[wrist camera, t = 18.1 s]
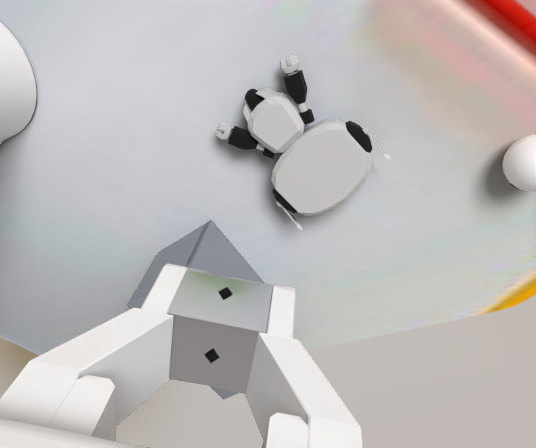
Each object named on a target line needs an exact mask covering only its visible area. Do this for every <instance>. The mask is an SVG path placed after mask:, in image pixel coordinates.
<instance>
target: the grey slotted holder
mask: <svg viewBox="0 0 536 448" xmlns="http://www.w3.org/2000/svg"><path fill="white" fill-rule="evenodd" d="M167 263H169V264H174V265H178V266H183V267H187V268H193V269H198V270H202V271H207V272H211V273H216V274H221V275H225V276H230V277H233V278H238V279H243V280H249V281H254V282H259V283H264V282H263V281H262V280H261V278H260V277H259V276H258V275H257V274H256V272H255V271H254V270H253V269H252V268H251V267H250V265H249V264H248V263H247V262H246V261H245V259H244V258H243V257H242V256H241V255H240V253H239V252H238V251H237V250H236V249H235V247H234V246H233V245H232V244H231V243H230V241H229V240H228V239H227V238H226V237H225V235H224V234H223V233H222V232H221V231H220V230H219V228H218V227H217V226H216V225H215V224H214V222H213V221H212V220H211V221H209V222H208V223H206V224H204V225H203V226H201V227H199V228H198V229H196V230H194V231H193V232H191V233H190V234H188V235H186V236H185V237H183V238H181V239H180V240H178V241H176V242H175V243H173V244H172V245H170V246H168V247H167V248H165V249H163V250H162V251H160V252H158V254H157V256H156V257H155V259H154V261H153V262H152V264H151V266H150V268H149V269H148V271H147V273H146V274H145V276H144V278H143V279H142V281H141V283H140V285H139V286H138V288H137V290H136V291H135V293H134V295H133V296H132V298H131V300H130V301H129V303H128V305H127V306H128V307H129V308H130V309H132V308H139V309H141V307H142V305H143V303H144V301H145V299H146V298H147V296H148V294H149V292H150V290H151V288H152V287H153V285H154V283H155V281H156V279H157V277H158V276H159V274H160V272H161V270H162V268H163V266H165V265H166V264H167ZM264 284H265V283H264ZM210 387H211V388H212V389H213V390H214V391H215V392H216V393H217V394H218V395H219V396H221V397H222V399H225V398H228V397H230V396H233V395H235V394H237V393H239V392H235V391H231V390H226V389H222V388H217V387H213V386H210Z"/></svg>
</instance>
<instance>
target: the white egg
mask: <svg viewBox="0 0 536 448" xmlns="http://www.w3.org/2000/svg"><path fill="white" fill-rule="evenodd" d="M502 165H503V172H504V174H505V176H506V178H507V179H508V181H509V182H510V183H511V185H512V186H514V187H516V188H518V189H521V190H525V191H536V134H533V135H529V136H526V137H523V138H521V139H519V140H518V141H516V142H514V143H513V144H512V145H511V146H510V147H509V149H508V150H507V152H506V154H505V156H504V159H503V164H502Z"/></svg>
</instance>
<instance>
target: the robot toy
mask: <svg viewBox="0 0 536 448" xmlns="http://www.w3.org/2000/svg"><path fill="white" fill-rule="evenodd" d="M288 57H289V58H290V61H291V64H292V65H289V66H288V65H287V61H286V57H284V58H282V59H281V61H280V68H281V70H282V71H283V72H284V73H285V74H286V76H285V77H283V78H284V81H285V84H286V88H287V91H288V94H289V95H290V96H291V97H290V96H289V95H287V94H285V93H283V92H276V91H274V90H272V89H270V88H268V87H266V88H263V89H260V90H259V91H257V90H255V89H250V90H249V91H248V92H247V93H246V95H245V99H246V101H247V103H246V104H245V107H244V110H243V114H244V116H245V118H246V120H247V122H248V130H249V131H247V130H244V129H242V128H239V127H237V126H235V127H234V128H233V129H232V128H231V126H230V125H229V124H228V123H222V122H221V123H220V124H218V127H217V128H220V129H222V130H224V132H222V131H219V130H218V129H217V130H216V135H217V137H219V138H220V139H222V140H229V142H228V143H229V144H231V145H234V146H236V147H239V148H241V149H255V148H256V149H259V150H261V151H263V155H264V156H267V157H269V158H272V159H273V157H274V155H275V153H281V155H280V157H279V158H278V160H277V162H276V165H275V167H274V169H273V172H272V178H271V181H272V183H273V186H274V189H273V193H274V196H275V198H276V200H277V201H278V202H277V204H278V205H279V207H282V208H283V210H284V211H285V212H286V213H287V214H288V216H289V217H290V218H291V219H292V221H293V222H294V223H295V224H296V226H297V227H298V229H300V230H302V227H301V225H300V224H298V223H297V221H296V220H295V219H294V218H293V217H292V215H291V214H290V213H289V212H288V210H289V211H291V212H293V213H296V212H299V213H301V214H303V215H306V216H313V215H319V214H322V213H324V212H327V211H329V210H331V209H333V208H335V207H336V206H338V205H340V204H342V203H344V202H345V201H347V200H348V199H349V198H350V197H351V196H352V195H353V194H354V193H355V192H356V191H357V189H358V188H359V187H360V186H361V185H362V184H363V182H364V181H365V180H366V178H367V176H368V175H369V173H370V169H371V166H372V160H371V155H370V152H371V150H372V145H371V141H370V138H371V139H372V140H373V142H374V143H375V144H376V145H377V146H378V148H379V149H380V150H381V151H382V152H383V154H384V156H385V157H386V158H387V159H388V160H390V161H391V159H390V157H389V155H388V154H387V153H386V152H385V151H384V150H383V149H382V148H381V146H380V145H379V144H378V143H377V142H376V140H375V139H374V138H373V137H372V136H371V134H370V133H369V132H370V131H369V130H368V129H367V128H366V127H365V128H363V129H362V128H361V127H360V126H359V125H357V124H355V123H353V122H351V121H348V122H346V123H345V122H343V121H340V120H338V119H328V120H323V121H321V122H318V123H316V124H314V125H312V126H310V127H309V128H307V129H306V130H304V129H305V125H306V124H309V123H311V122H313V121H314V117H313V113H312V110H310V109H307V106H306V103H305V100H306V94H307V86H306V82H305V79H304V76H303V73H302V71H301V70H300V71H298V67H299V61H298V59H297V57H296V56H295V55H289V56H288ZM293 100H294V101H295V102H296V103H297V104H298V106H299V107H298V106H297V105H296V103H295V102H294V101H293ZM369 137H370V138H369Z"/></svg>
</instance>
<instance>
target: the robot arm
mask: <svg viewBox="0 0 536 448" xmlns="http://www.w3.org/2000/svg"><path fill="white" fill-rule="evenodd" d="M35 105H36V83H35V78H34V74H33V71H32V68H31V65H30V63H29V61H28V58H27V56H26V54H25V53H24V51H23V49H22V47H21V46H20V44H19V43H18V41H17V40H16V39H15V38H14V36H13V35H12V34H11V33H10V31H9V30H8V29H7V28H6V27H5V26H4V25H3V24H2V23H1V22H0V145H1V143H2V142H3V141H4V140H6V139H7V138H9V137H12V136H14V135H16V134H17V133H19V132H20V131H21V130H23V129H24V128H25V127H26V125H27V124H28V123H29V121H30V120H31V118H32V115H33V113H34V110H35ZM295 297H296V290H295V288H291V287H285V286H279V285H269V284H264V283H259V282H254V281H249V280H243V279H238V278H233V277H230V276H225V275H221V274H216V273H211V272H207V271H202V270H198V269H193V268H187V267H183V266H178V265H174V264H169V263H167V264H166V265H165V266H163V268H162V270H161V272H160V274H159V276H158V277H157V279H156V281H155V283H154V285H153V287H152V288H151V290H150V292H149V294H148V296H147V298H146V299H145V301H144V303H143V305H142V307H141V309H139V308H132V309H130V310H128V311H126V312H124V313H122V314H120V315H118V316H116V317H114V318H113V319H111V320H109V321H107V322H105V323H103V324H101V325H99V326H97V327H95V328H93V329H91V330H89V331H87V332H85V333H83V334H81V335H79V336H77V337H75V338H73V339H71V340H70V341H68V342H66V343H64V344H62V345H60V346H58V347H56V348H54V349H52V350H50V351H48V352H46V353H44V354H42V355H40V356H38V357H36V358H34V359H32V360H30V361H29V363H28V364H27V365H26V366H25V368H24V369H23V370H22V372H21V373H20V374H19V376H18V377H17V378H16V380H15V381H14V382H13V383H12V385H11V386H10V387H9V389H8V390H7V391H6V393H5V394H4V395H3V396H2V398H1V399H0V448H148V447H143V446H137V445H133V444H128V443H123V442H117V441H116V426H117V425H118V424H119V423H120V422H122V421H123V420H124V419H125V418H126V417H127V416H129V415H130V414H131V413H132V412H133V411H134V410H136V409H137V408H138V407H139V406H140V405H141V404H143V403H144V402H145V401H146V400H147V399H148V398H149V397H151V396H152V395H153V394H154V393H155V392H157V391H158V390H159V389H160V388H161V387H162V386H164V385H165V384H166V383H167V382H168V381H169V379H174V380H180V381H185V382H192V383H198V384H203V385H209V386H213V387H217V388H222V389H226V390H231V391H235V392H239V393H245V394H246V398H247V401H248V403H249V406H250V408H251V411H252V413H253V416H254V418H255V421H256V423H257V425H258V428H259V430H260V433H261V435H262V438H263V440H264V441H263V445H262V448H362V437H361V427H360V426H359V425H358V423H357V422H356V420H355V419H354V417H353V416H352V415H351V413H350V412H349V410H348V409H347V408H346V406H345V405H344V403H343V402H342V400H341V399H340V398H339V396H338V395H337V393H336V392H335V391H334V389H333V388H332V386H331V385H330V383H329V382H328V380H327V379H326V378H325V376H324V375H323V373H322V372H321V371H320V369H319V368H318V366H317V365H316V363H315V362H314V361H313V359H312V358H311V356H310V355H309V353H308V352H307V351H306V349H305V348H304V346H303V345H302V344H301V342H300V341H299V340H296V339H293V327H294V312H295Z"/></svg>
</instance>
